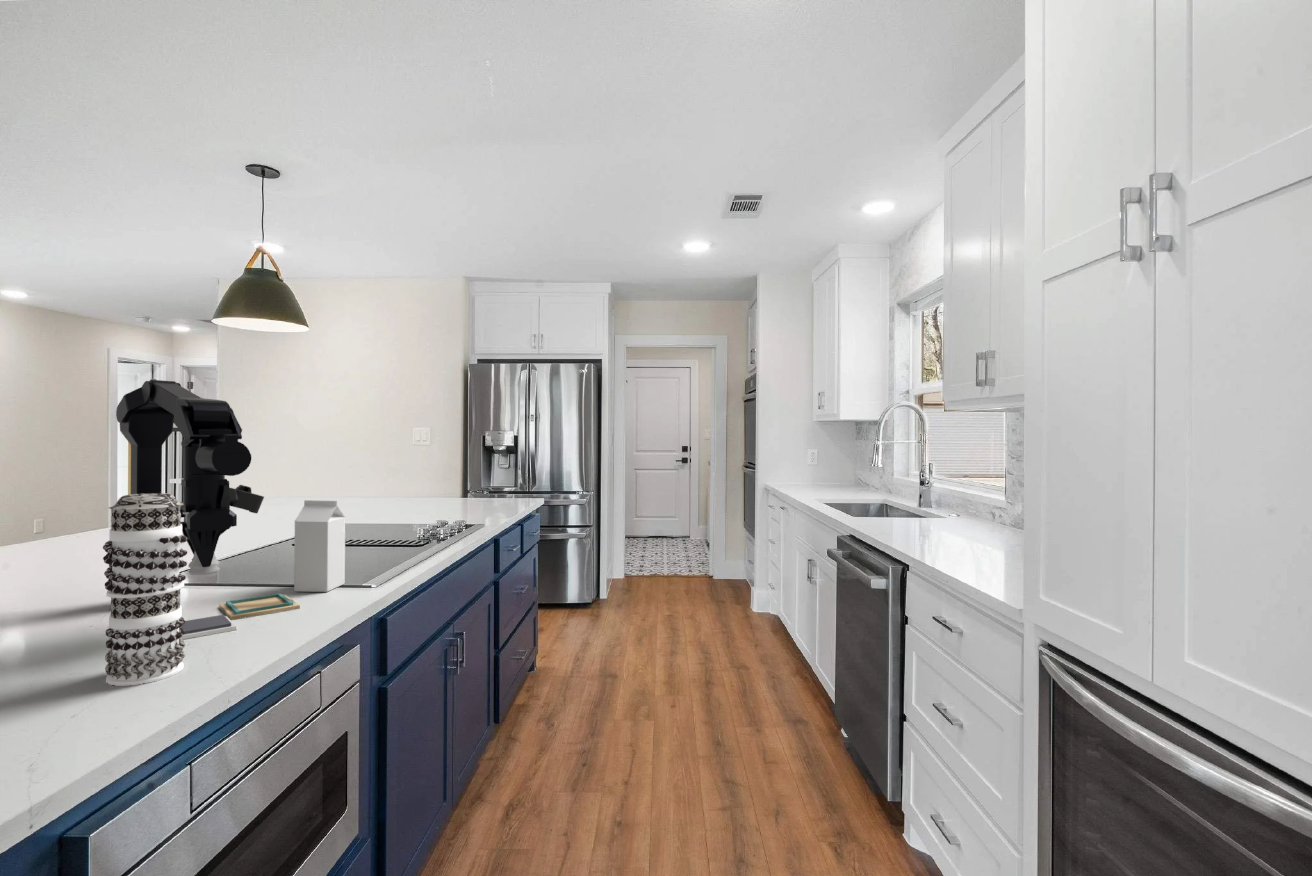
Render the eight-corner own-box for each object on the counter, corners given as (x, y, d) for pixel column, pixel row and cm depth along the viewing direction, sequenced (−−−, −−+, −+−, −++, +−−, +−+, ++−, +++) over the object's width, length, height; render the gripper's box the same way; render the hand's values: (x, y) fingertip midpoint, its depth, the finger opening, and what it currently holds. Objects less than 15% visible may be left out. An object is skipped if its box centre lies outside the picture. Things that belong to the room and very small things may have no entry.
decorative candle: (177, 656, 92) (178, 490, 92) (196, 672, 86) (197, 494, 86) (96, 674, 85) (96, 494, 85) (110, 693, 79) (110, 499, 79)
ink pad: (170, 628, 105) (170, 622, 105) (226, 619, 110) (226, 613, 110) (177, 640, 99) (177, 633, 99) (236, 629, 105) (236, 623, 105)
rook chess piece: (202, 576, 102) (203, 528, 102) (180, 574, 103) (181, 527, 103) (226, 570, 107) (226, 524, 107) (205, 569, 108) (205, 523, 108)
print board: (219, 607, 118) (219, 601, 118) (284, 596, 126) (284, 591, 126) (231, 619, 110) (231, 613, 110) (299, 608, 118) (299, 602, 118)
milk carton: (327, 592, 129) (327, 502, 129) (293, 592, 130) (294, 502, 129) (344, 584, 137) (345, 499, 136) (313, 583, 137) (314, 498, 137)
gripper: (272, 474, 104) (272, 566, 104) (247, 469, 117) (247, 550, 117) (190, 477, 96) (190, 576, 96) (173, 471, 109) (173, 558, 109)
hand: (203, 564), depth 105 cm, fingers closed on rook chess piece, 4 cm apart
